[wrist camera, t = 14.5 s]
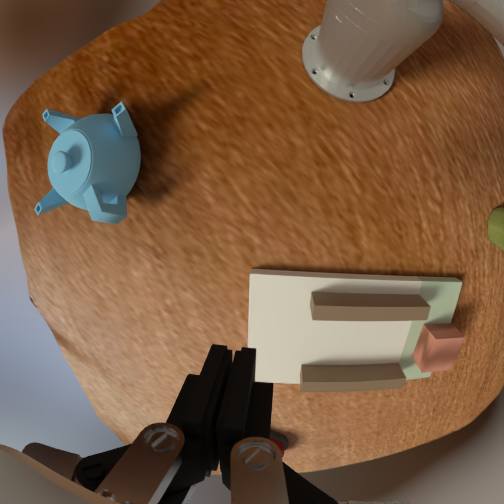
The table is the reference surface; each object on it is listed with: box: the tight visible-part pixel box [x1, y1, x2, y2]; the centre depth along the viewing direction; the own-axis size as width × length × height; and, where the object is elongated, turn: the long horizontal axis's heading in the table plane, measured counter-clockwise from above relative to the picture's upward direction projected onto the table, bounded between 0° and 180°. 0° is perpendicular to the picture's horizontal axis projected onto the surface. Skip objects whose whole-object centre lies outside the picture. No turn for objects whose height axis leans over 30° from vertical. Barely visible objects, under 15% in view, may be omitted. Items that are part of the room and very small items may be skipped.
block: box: [412, 323, 465, 373], centre depth 34 cm, size 6×6×4 cm
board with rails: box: [248, 269, 462, 392], centre depth 36 cm, size 18×32×6 cm, turn 88°
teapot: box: [35, 102, 141, 224], centre depth 31 cm, size 15×15×11 cm
